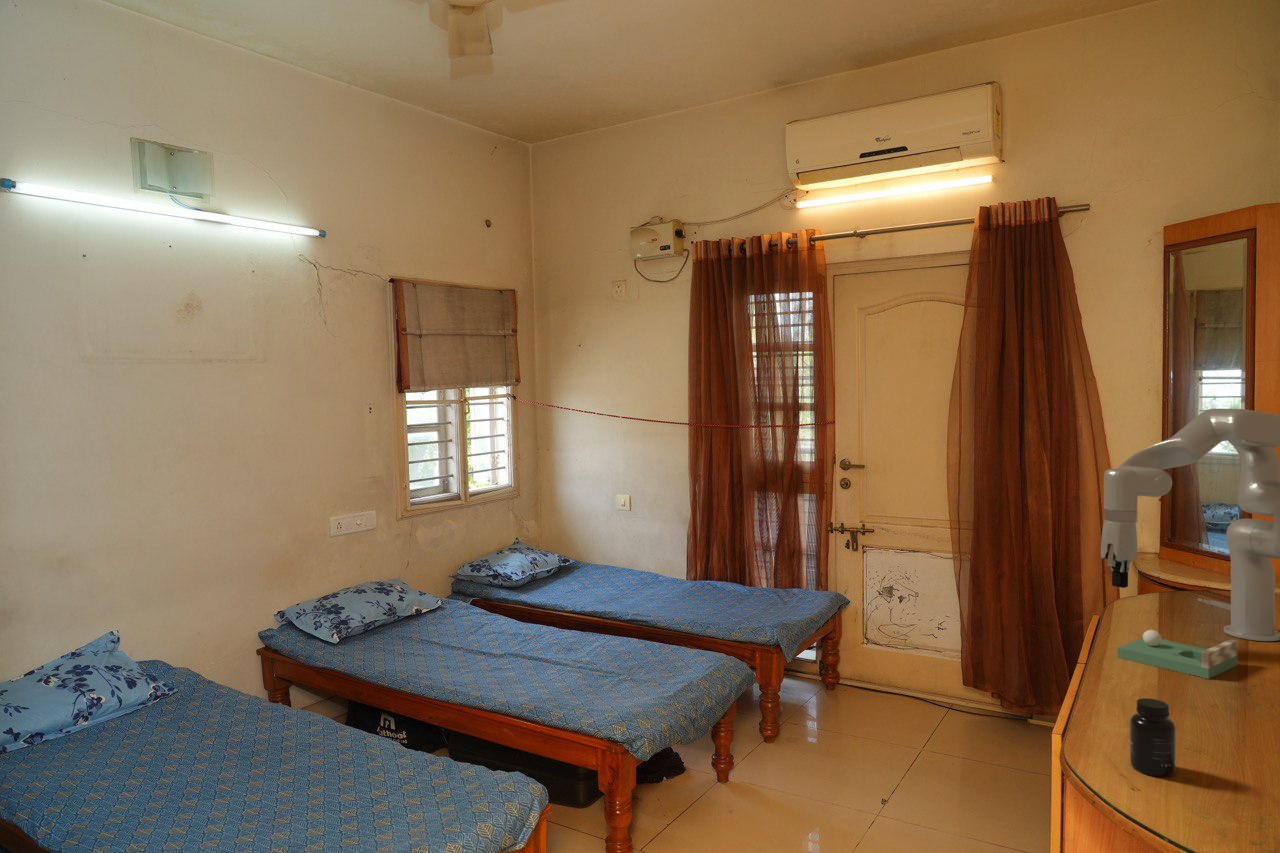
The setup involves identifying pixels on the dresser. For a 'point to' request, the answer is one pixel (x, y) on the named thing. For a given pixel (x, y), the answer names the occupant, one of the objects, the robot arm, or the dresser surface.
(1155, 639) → the ball
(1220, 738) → the dresser surface
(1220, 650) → the backboard
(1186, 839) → the dresser surface
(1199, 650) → the putting green
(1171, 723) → the supplement bottle
